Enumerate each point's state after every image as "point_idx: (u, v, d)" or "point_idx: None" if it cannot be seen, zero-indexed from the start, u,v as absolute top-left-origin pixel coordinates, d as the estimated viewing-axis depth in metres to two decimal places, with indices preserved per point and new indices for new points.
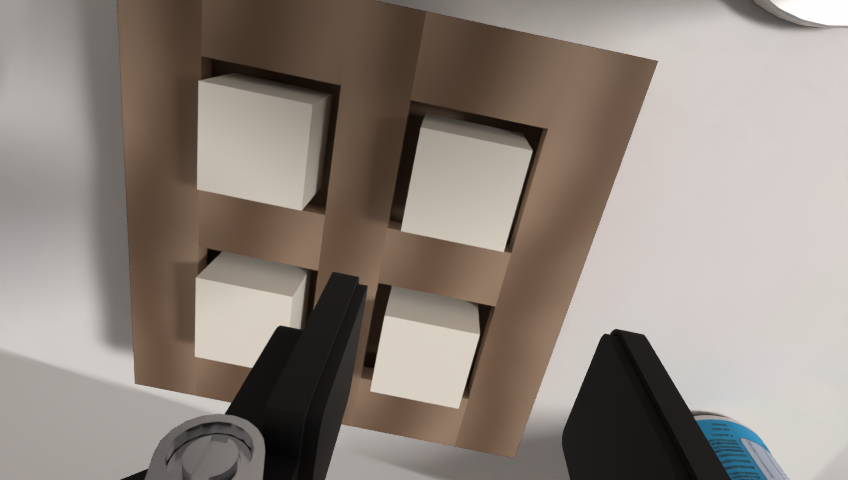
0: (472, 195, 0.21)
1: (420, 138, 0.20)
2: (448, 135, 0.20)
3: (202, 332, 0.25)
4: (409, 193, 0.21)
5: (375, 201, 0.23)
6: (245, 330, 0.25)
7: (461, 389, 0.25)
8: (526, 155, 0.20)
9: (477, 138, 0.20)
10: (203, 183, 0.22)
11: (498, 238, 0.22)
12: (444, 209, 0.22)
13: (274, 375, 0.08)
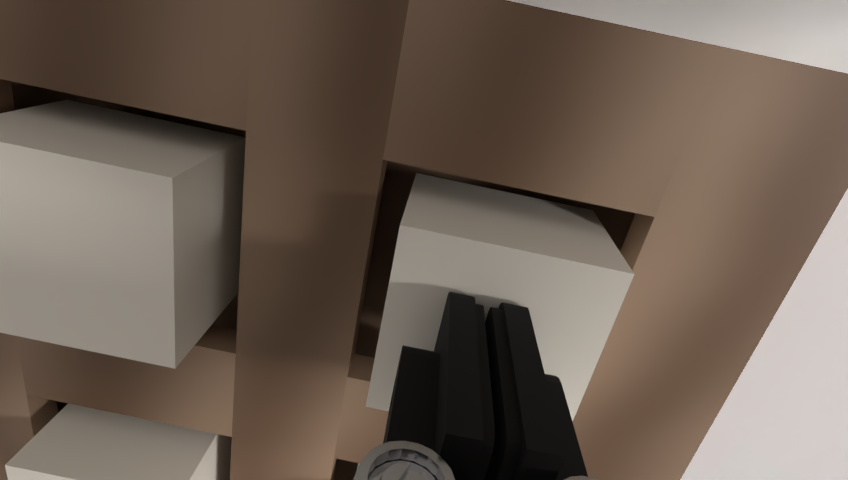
0: None
1: (400, 246, 0.10)
2: (457, 242, 0.10)
3: None
4: (380, 345, 0.11)
5: (324, 334, 0.13)
6: None
7: None
8: (620, 282, 0.10)
9: (518, 246, 0.10)
10: None
11: None
12: None
13: (417, 397, 0.08)
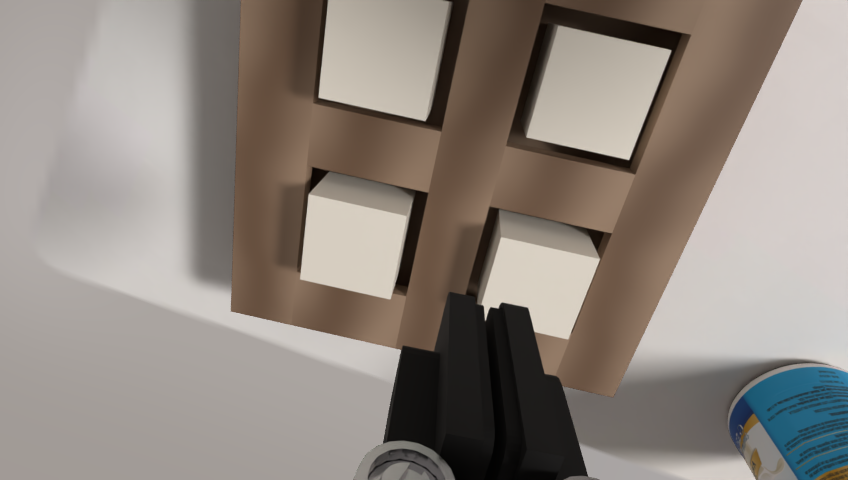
0: (603, 99, 0.21)
1: (556, 37, 0.20)
2: (585, 35, 0.20)
3: (310, 253, 0.24)
4: (539, 96, 0.21)
5: (496, 116, 0.22)
6: (354, 251, 0.24)
7: (573, 318, 0.24)
8: (664, 55, 0.20)
9: (614, 38, 0.20)
10: (325, 91, 0.21)
11: (625, 145, 0.22)
12: (573, 114, 0.21)
13: (417, 397, 0.08)
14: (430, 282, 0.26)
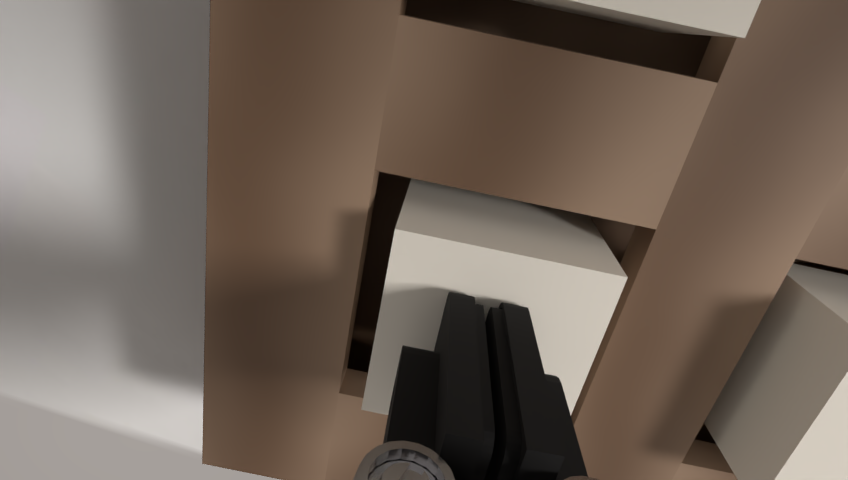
0: None
1: None
2: None
3: (388, 358, 0.11)
4: None
5: None
6: None
7: None
8: None
9: None
10: None
11: None
12: None
13: (418, 397, 0.08)
14: (624, 414, 0.13)
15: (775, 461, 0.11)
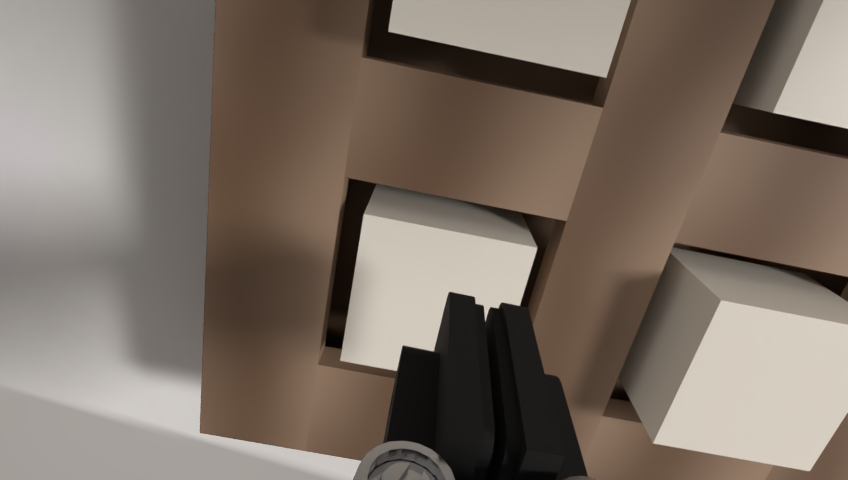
0: None
1: None
2: None
3: (360, 317, 0.14)
4: (812, 32, 0.11)
5: (711, 76, 0.12)
6: (438, 311, 0.14)
7: (827, 437, 0.14)
8: None
9: None
10: (404, 16, 0.10)
11: None
12: None
13: (418, 397, 0.08)
14: (553, 374, 0.15)
15: (666, 403, 0.14)
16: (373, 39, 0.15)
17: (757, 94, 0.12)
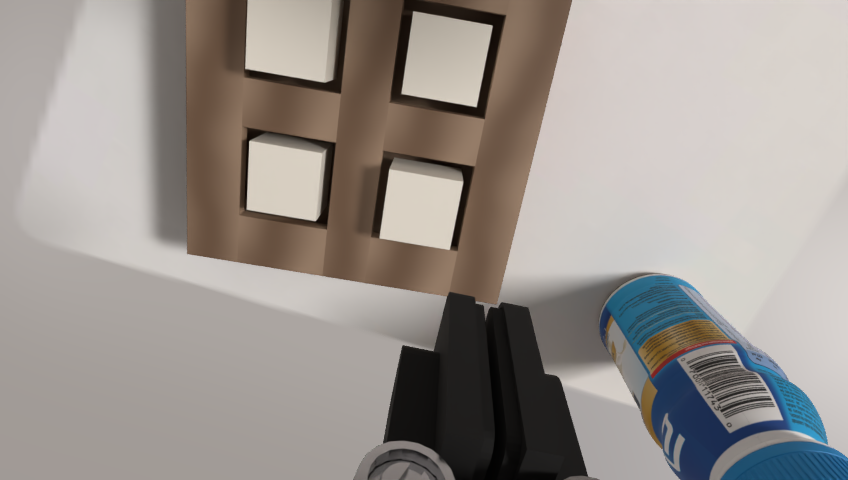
0: (452, 62, 0.30)
1: (413, 19, 0.29)
2: (432, 17, 0.29)
3: (253, 187, 0.33)
4: (406, 63, 0.30)
5: (379, 80, 0.31)
6: (285, 184, 0.33)
7: (451, 232, 0.32)
8: (488, 29, 0.29)
9: (453, 18, 0.29)
10: (250, 63, 0.29)
11: (472, 95, 0.30)
12: (432, 75, 0.30)
13: (418, 397, 0.08)
14: (344, 216, 0.34)
15: (382, 219, 0.32)
16: None
17: None
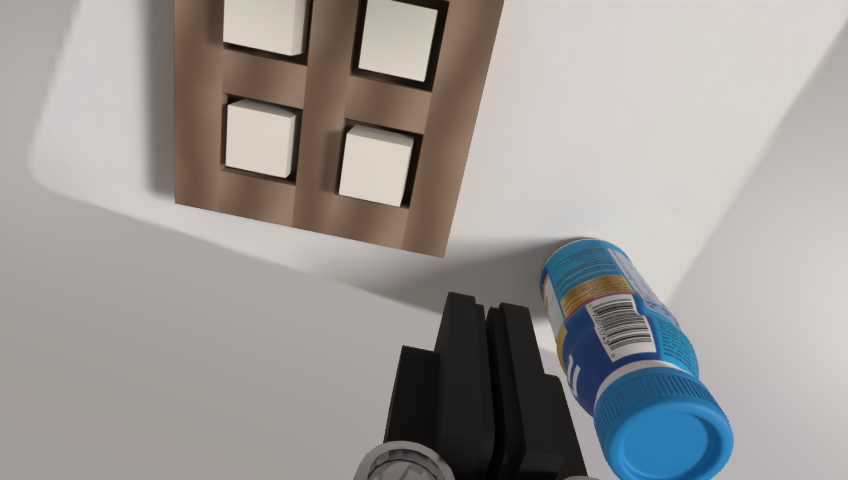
0: (402, 42, 0.34)
1: (368, 3, 0.33)
2: (385, 1, 0.33)
3: (231, 146, 0.38)
4: (363, 41, 0.34)
5: (340, 55, 0.35)
6: (259, 144, 0.38)
7: (400, 190, 0.37)
8: (433, 13, 0.33)
9: (403, 3, 0.33)
10: (227, 36, 0.34)
11: (420, 71, 0.35)
12: (385, 52, 0.34)
13: (417, 397, 0.08)
14: (310, 174, 0.39)
15: None
16: None
17: None
